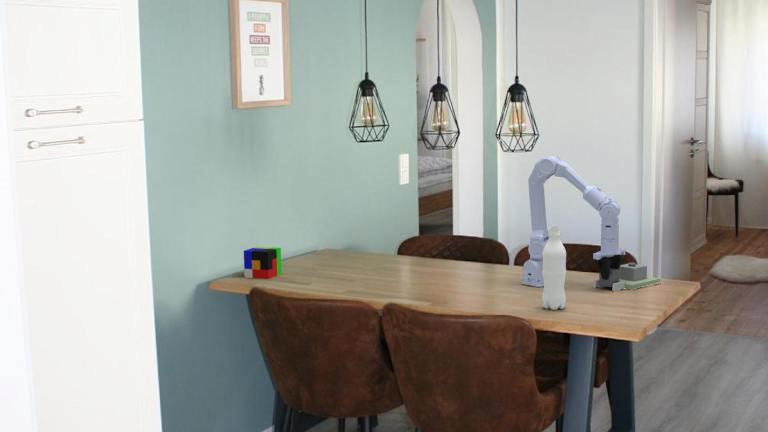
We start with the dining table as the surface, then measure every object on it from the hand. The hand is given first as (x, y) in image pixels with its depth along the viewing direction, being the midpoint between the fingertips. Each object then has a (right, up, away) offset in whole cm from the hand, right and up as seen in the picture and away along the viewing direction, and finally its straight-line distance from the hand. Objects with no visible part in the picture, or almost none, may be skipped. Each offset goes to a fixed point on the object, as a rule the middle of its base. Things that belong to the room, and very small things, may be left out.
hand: (609, 278), depth 318 cm
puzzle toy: (-120, -2, +34) cm, 124 cm away
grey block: (0, -2, 0) cm, 2 cm away
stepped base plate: (+7, -3, +5) cm, 9 cm away
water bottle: (-23, -8, -27) cm, 36 cm away
